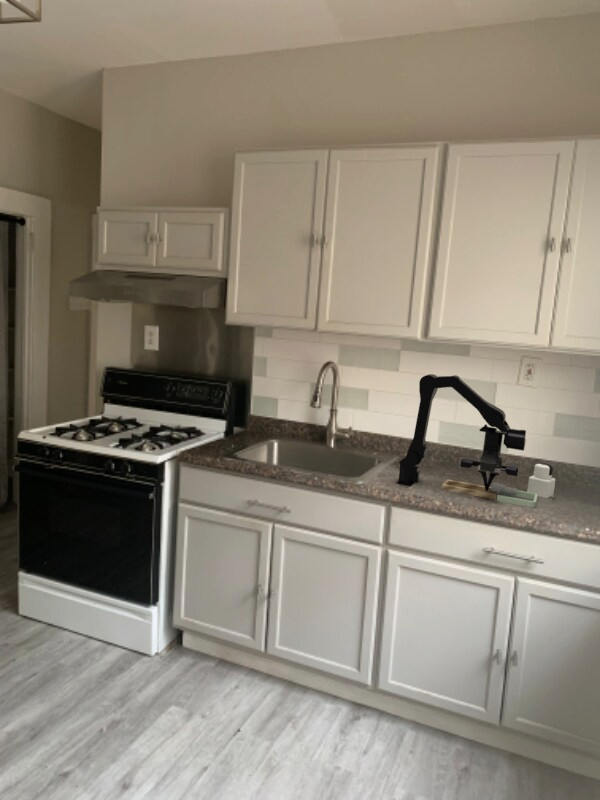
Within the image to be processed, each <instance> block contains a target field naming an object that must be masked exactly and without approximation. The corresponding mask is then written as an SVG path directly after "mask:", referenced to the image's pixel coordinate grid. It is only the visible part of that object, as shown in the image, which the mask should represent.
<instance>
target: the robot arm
mask: <svg viewBox="0 0 600 800" xmlns="http://www.w3.org/2000/svg"><path fill="white" fill-rule="evenodd" d="M418 383H419V385H418V386H419V388H418V390H419V391H418V392H419V405H418V412H417V416H416V422H415V423H416V424H415V427H414V433H413V437H412V440H411V443H410V445H409V447H408V448H407V453H406V454H405V455H406V456H405V457H404V458H402V459H401V460H400V461H399V473H398V480H396V483H397V484H402V485H406V486H413V485H415V483H417V484H418V483H419V482H420V475H421V471H419V470H420V466H419V465H420V464H421V463H422V462H423V461H425V459H426V457H428V456H429V448H430V444H428V443H427V441H426V438H427V437H426V436H427V431H428V427H429V421H430V416H431V409H432V405H433V401H434V398H435V396H436V394H437V392H438V389H442V388H443V389H444V388H452V389H453V390H454V391H456V392H457V393H458V394H459V396H461V397H462V398H463V399H465V401H467V403H469V404H470V405H471V406H473V407H474V408H475V409H476V410H477V411H478V413H479V415H481V418H483V420H485V422H486V423H487V424H484V425H483V426H482V427H481V428H480V429H479V432H483V433H484V439H483V447H482V454H481V456H480V461H479V460H476V458H475V457H472V456H467V455H466V456H463V457H462V458H461V460H460V467H461V468H466V469H471V468H472V467H477V473H480V475H481V477H482V480H483V484H484V485H483V486H485V490H486V491H488V489H489V487H491V486H492V483H493V480H494V479H495V477H496V476H500V474H501V472H502V471H503V472H505V473H506V475H509V476H512V477H513V476H514V477H519V476H518V475H519V473H520V466H519V464H515V463H507V464H506V465H505V464H504V465H503V460H504V459H503V457H501V452H502V451H501V450H502V445H504V446H505V447H506V449H509V450H510V449H511V450H517V451H525V447H526V441H527V439H526V434H527V430H526V429H515V428H511V427H510V425H509V424H508V423H509V422H508V421H507V420H506V418H507V417H506V412H505V411H504V410H502V409H501V408H499V407H498V406H496V405H495V404H492V403H490V402H488V401H487V400H485V399H484V398H483V397H482V396H481V395H479V394H478V393H477V392H476V391H475V390H474V389H473V388H471V386H469V385H468V384H467V383H466V382H465V381H463V379H462V378H461V377H460V376H458V375H448V376H447V375H446V376H437V375H436V374H433V373H432V374H431V373H429V374H426V375H422V377H421V378H420V380H419V381H418ZM497 429H498V430H497ZM503 436H504V437H503ZM502 443H503V444H502ZM489 472H490V473H489Z"/></svg>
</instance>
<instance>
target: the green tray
mask: <svg viewBox="0 0 600 800" xmlns="http://www.w3.org/2000/svg"><path fill="white" fill-rule="evenodd" d="M518 497H520V498H518ZM538 497H539V496H538V494H535V493H529V492H527V491H523V490H518V489H517V495H516V498H512V497H506V496H501V495H497V498H496V501H497V502H500V503H506V504H512V505H518V506H522V507H528V508H532V509H533V508H534V509H535V508H536V506H537V502H538ZM521 498H522V499H521ZM523 498H525V499H523ZM529 499H530V500H529Z"/></svg>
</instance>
